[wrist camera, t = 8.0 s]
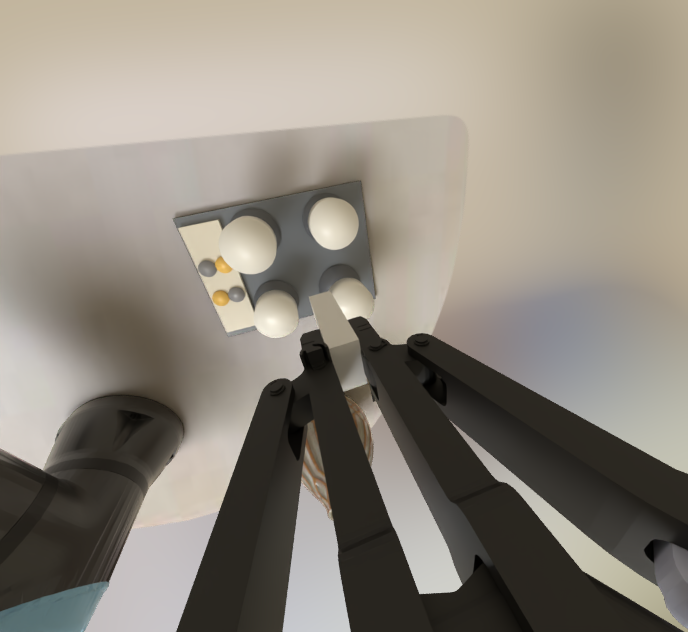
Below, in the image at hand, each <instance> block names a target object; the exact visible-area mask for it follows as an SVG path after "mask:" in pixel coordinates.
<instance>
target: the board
mask: <svg viewBox="0 0 688 632" xmlns="http://www.w3.org/2000/svg"><path fill="white" fill-rule="evenodd" d="M328 197H332V198H338V199H342V200H344V201H346V202H348V203H349V204H350V205H351V206H352V207H353V208H354V209H355V211H356V213H357V216H358V221H359V227H358V232H357V235H356V237H355V238H354V240H353V241H352V242H351V243H350V244H349V245H348V246H346V247H344V248H342V249H338V250H330V249H327V248H324V247H323V246H321V245H320V244H319V243H318V242H317V241H316V240H315V238H314V237H313V235H312V234H311V232H310V230H309V226H308V216H309V212H310V210H311V208H312V207H313V205H314V204H315V203H316V202H317V201H319V200H321V199H323V198H328ZM242 216H254V217H257V218H260V219H261V220H263V221H265V222H266V223H267V224H268V225H269V226H270V227H271V228H272V230H273V232H274V233H275V236H276V241H277V249H276V257H275V259H274V262H273V263H272V265H271V266H270V267H269V268H268V269H266V270H265V271H263V272H261V273H257V274H244V273H241V272H238V271H236V270H234V269H233V268H231V267H230V266H229V265H228V264H227V263H226V262H225V261H224V259H223V258H222V256H221V253H220V250H219V237H220V234H221V232H222V230H223V229H224V228H225V227H226V226H227V225H228V224H229V223H231V222H232V221H233V220H235V219H237V218H239V217H242ZM173 221H174V223H175V225H176V227H177V229H178V231H179V233H180V236H181V238H182V240H183V242H184V244H185V246H186V248H187V250H188V253H189V255H190V257H191V259H192V261H193V263H194V265H195V267H196V270H197V272H198V274H199V276H200V278H201V280H202V282H203V284H204V287H205V289H206V291H207V293H208V295H209V297H210V299H211V302H212V304H213V306H214V308H215V310H216V312H217V314H218V316H219V319H220V321H221V323H222V325H223V327H224V329H225V331H226V333H227V336H228V337H230V336H234V335H238V334H242V333H246V332H250V331H253V330H257V328H256V326H255V324H254V312H255V307H256V303H257V300H258V299H259V297H260V296H261V295H262V294H264V293H265V292H268V291H271V290H282V291H285V292H287V293H289V294H290V295H291V296H292V297H293V298H294V299H295V301H296V304H297V310H298V317H299V319H300V318H303V317H307V316H311V315H314V314H313V310H312V307H311V303H310V300H309V297H310V296H313V295H317V294H320V293H324V292H327V291H329V289H330V287H331V286H332V285H333V284H334V283H335V282H336V281H338V280H340V279H343V278H354V279H357V280H359V281H360V282H361V283H362V284H363V285H364V286H365V287H366V288H367V290H368V291H369V292H370V293H371V294H372V296H373V299H376V298H375V290H374V282H373V274H372V266H371V258H370V250H369V243H368V235H367V227H366V219H365V211H364V203H363V195H362V187H361V181H356V182H351V183H346V184H341V185H336V186H331V187H326V188H322V189H317V190H312V191H307V192H302V193H297V194H292V195H287V196H282V197H277V198H272V199H267V200H263V201H258V202H253V203H248V204H243V205H238V206H233V207H228V208H223V209H218V210H213V211H208V212H203V213H199V214H194V215H189V216H184V217H179V218H174V219H173Z"/></svg>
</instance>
